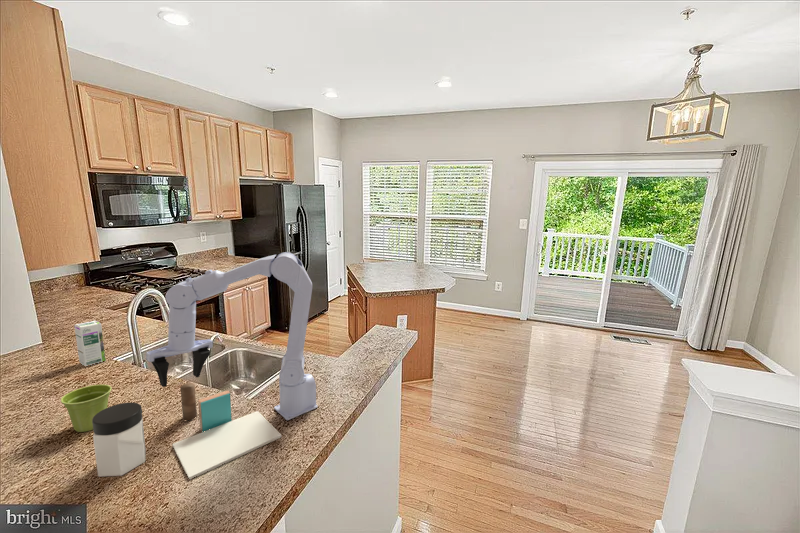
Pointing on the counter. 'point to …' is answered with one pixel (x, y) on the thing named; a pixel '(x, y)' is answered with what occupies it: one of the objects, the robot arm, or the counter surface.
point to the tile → (214, 410)
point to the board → (224, 443)
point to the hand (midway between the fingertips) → (180, 380)
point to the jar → (119, 439)
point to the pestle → (188, 401)
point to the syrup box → (90, 343)
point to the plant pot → (86, 405)
